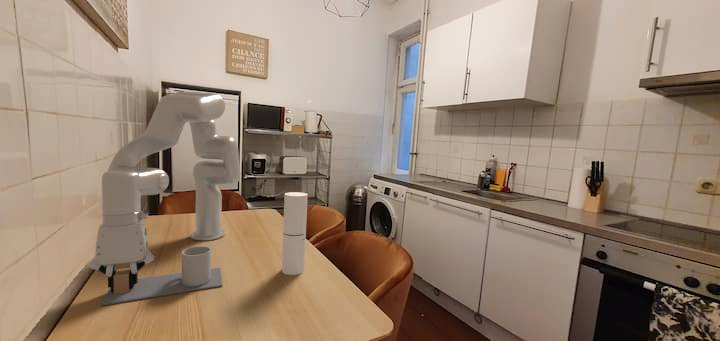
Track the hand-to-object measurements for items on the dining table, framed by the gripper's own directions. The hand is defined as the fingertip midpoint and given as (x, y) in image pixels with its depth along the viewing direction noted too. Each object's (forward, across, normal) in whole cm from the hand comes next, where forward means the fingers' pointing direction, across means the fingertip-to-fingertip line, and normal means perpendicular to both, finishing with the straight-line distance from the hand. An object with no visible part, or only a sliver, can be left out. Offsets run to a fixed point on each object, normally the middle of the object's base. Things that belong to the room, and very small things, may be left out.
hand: (123, 287), depth 75 cm
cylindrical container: (+1, -44, +2) cm, 44 cm away
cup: (+1, -16, 0) cm, 16 cm away
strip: (+1, -10, 0) cm, 10 cm away
